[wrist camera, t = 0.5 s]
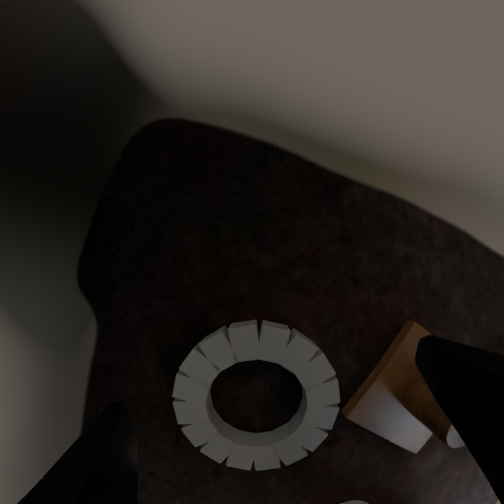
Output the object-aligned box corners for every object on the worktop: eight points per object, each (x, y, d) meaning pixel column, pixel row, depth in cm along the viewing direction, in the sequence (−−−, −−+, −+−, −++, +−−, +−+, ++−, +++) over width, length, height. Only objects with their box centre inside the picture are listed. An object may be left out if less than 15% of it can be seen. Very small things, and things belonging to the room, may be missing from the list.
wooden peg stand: (466, 367, 21) (526, 391, 13) (409, 447, 21) (452, 494, 12) (406, 318, 22) (469, 335, 13) (340, 410, 21) (374, 465, 13)
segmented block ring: (361, 373, 22) (371, 383, 19) (271, 474, 21) (272, 490, 19) (238, 288, 22) (235, 290, 20) (154, 402, 22) (144, 414, 19)
